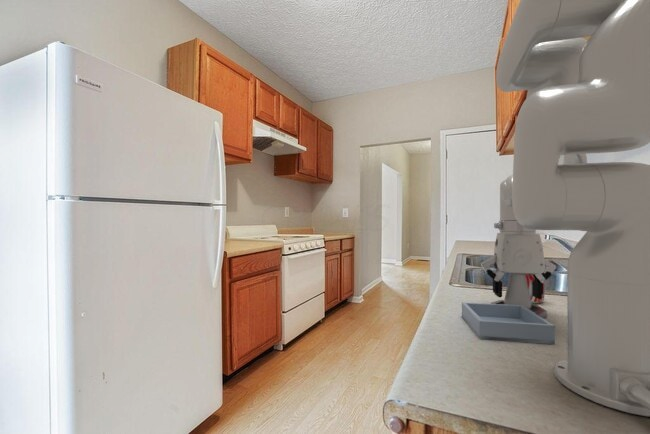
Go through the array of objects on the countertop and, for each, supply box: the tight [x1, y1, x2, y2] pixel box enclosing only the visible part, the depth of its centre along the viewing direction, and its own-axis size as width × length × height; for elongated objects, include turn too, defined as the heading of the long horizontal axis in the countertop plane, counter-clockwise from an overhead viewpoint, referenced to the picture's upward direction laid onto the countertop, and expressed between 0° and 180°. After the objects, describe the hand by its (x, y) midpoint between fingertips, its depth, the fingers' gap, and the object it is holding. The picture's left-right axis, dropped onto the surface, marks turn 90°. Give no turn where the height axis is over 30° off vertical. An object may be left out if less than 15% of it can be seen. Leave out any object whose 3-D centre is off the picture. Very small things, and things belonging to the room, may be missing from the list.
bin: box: [461, 301, 556, 345], centre depth 63 cm, size 13×13×4 cm
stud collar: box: [490, 299, 548, 319], centre depth 74 cm, size 11×11×2 cm
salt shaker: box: [504, 274, 532, 310], centre depth 74 cm, size 6×6×13 cm
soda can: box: [526, 274, 546, 305], centre depth 84 cm, size 7×7×12 cm
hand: (517, 296), depth 74 cm, fingers open, 8 cm apart
